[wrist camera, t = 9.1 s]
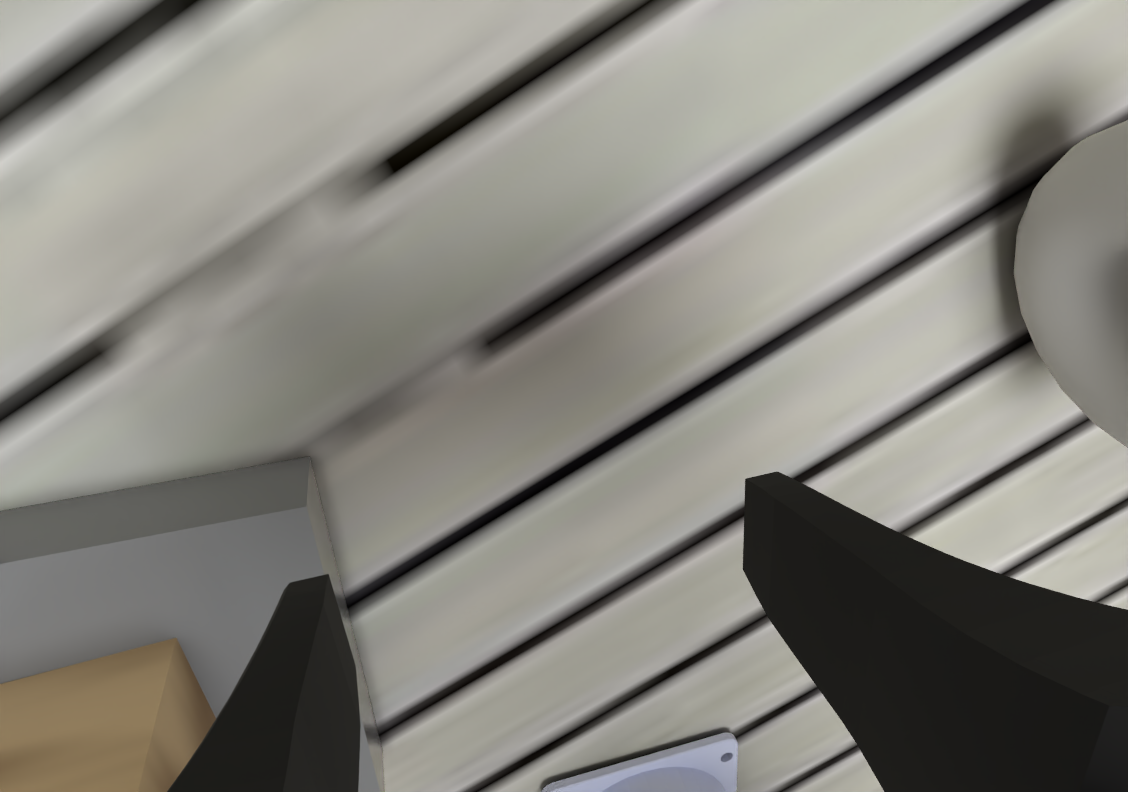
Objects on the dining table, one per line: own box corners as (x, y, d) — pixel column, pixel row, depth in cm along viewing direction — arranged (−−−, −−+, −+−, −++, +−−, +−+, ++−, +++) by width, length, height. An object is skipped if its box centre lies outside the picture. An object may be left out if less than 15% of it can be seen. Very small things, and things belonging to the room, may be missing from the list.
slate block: (381, 737, 28) (385, 813, 25) (6, 830, 25) (-33, 925, 23) (310, 447, 22) (306, 506, 19) (-181, 532, 20) (-260, 612, 17)
